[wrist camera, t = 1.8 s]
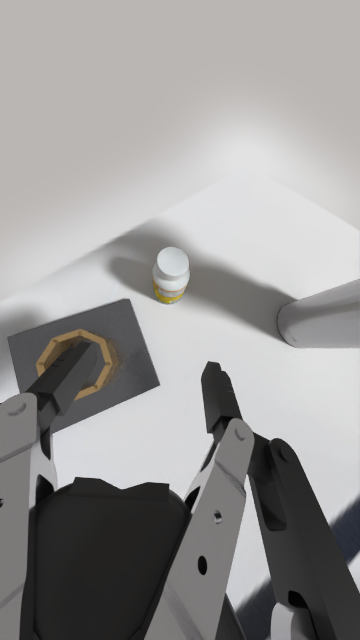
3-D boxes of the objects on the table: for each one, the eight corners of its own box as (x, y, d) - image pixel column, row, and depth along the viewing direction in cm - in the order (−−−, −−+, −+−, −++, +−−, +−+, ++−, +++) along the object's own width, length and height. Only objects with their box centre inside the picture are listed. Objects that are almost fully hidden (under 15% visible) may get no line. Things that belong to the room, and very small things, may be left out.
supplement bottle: (177, 309, 27) (187, 287, 17) (149, 299, 26) (144, 272, 17) (186, 283, 28) (199, 250, 19) (159, 274, 28) (159, 235, 18)
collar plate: (130, 300, 26) (125, 292, 22) (160, 383, 24) (160, 390, 20) (14, 337, 22) (-17, 335, 18) (37, 438, 20) (8, 459, 16)
